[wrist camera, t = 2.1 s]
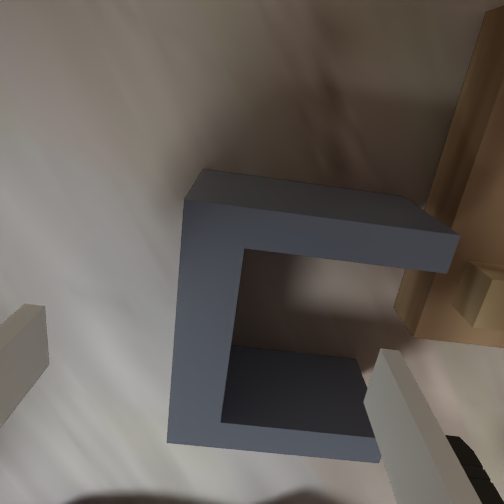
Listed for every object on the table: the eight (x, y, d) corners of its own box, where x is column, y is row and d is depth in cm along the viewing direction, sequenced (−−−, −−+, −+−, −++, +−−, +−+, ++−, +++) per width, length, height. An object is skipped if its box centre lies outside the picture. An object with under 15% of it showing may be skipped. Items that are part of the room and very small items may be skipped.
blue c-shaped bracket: (186, 362, 24) (166, 442, 19) (202, 169, 20) (184, 199, 14) (350, 379, 25) (378, 463, 19) (402, 196, 20) (460, 235, 15)
